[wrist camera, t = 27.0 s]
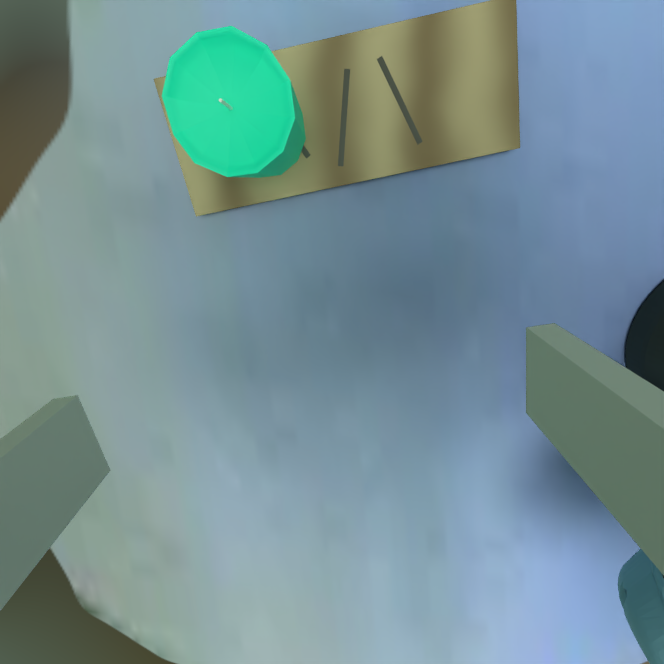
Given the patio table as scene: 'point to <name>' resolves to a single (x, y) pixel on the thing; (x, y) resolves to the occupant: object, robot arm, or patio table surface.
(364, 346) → the patio table surface
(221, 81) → the candle
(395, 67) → the oak board
